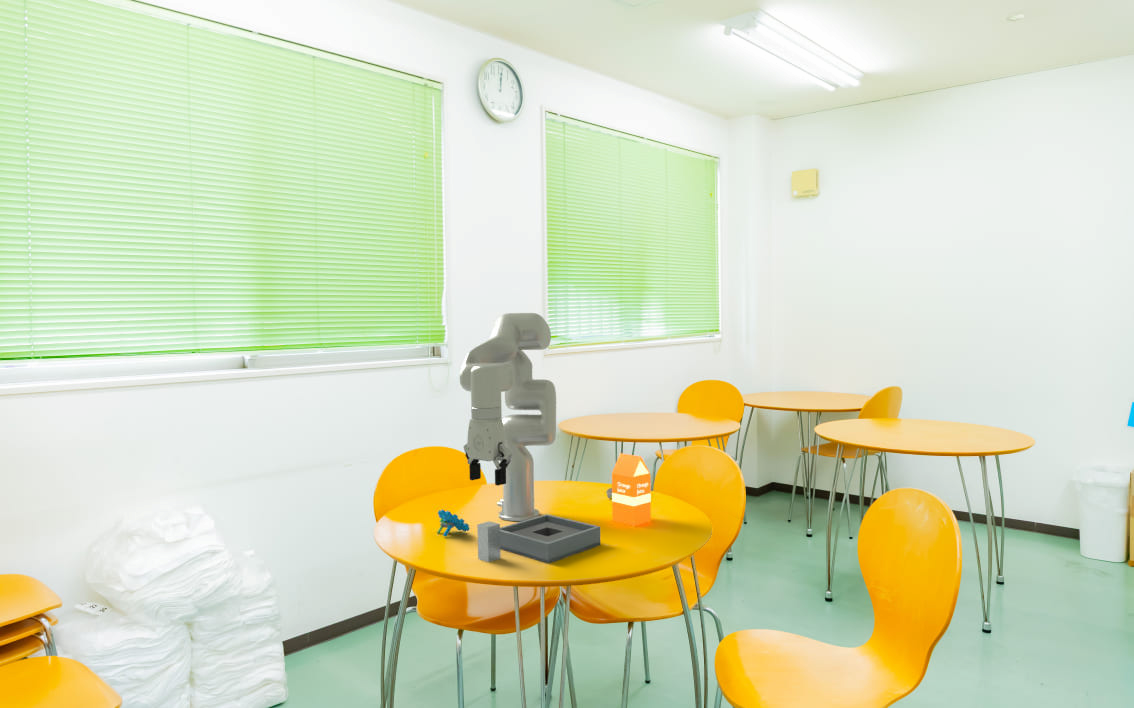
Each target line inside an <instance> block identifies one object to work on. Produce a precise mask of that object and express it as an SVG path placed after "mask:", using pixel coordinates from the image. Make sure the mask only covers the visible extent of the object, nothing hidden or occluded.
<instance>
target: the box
mask: <svg viewBox="0 0 1134 708" xmlns="http://www.w3.org/2000/svg"><path fill="white" fill-rule="evenodd" d="M599 546H601V526H598V525H595V524H591V523H586V522H583V521H578V520H573V519H570V518H564V517H562V516H561V517H560V516H556V515H551V514H548V513H546V514H542V515H539V516H538V517H535V518H532V519H528V520H525V521H517V522H515V523H511V524H509V525H508V524H507V525H505V526H502V527H501V526H500V551H501V550H502V551H505V552H508V553H512V554H515V555H518V556H521V557H525V558H528V559H530V560H531V559H532V560H534V561H538V562H540V563H545V564H548V565H549V564H551V563H554V562H557V561H559V560H563V559H566V558H568V557H570V556H571V557H572V556H574V555H576V554H580V553H582V552H586V551H588V550H591V549H593V548H596V547H599Z"/></svg>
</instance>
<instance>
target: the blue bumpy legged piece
mask: <svg viewBox="0 0 1134 708" xmlns="http://www.w3.org/2000/svg"><path fill="white" fill-rule="evenodd" d="M437 514H438V518H439V519H440V520H439V523H440V524H439V525H440V527H439V528H438V530H437V532H436V533H437V534H439V535H440V533H441V532H442V531H443V529H444V528H445V531H444V533H443V534H442V536H444V537H446V538H447V536H448V535H449V533H450V532H451V530H452V529H453V528H456V530H458V531H463V532H464V533H466V532H468V531H470V529H471V528H470V525H469V524H468V523H466V522H465V520H464V519H463V518H459V515H458V514H455V513H454V514H452V513H451V512H450V511H449V510H446V511H445V510H444V509H441V510H438V512H437Z"/></svg>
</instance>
